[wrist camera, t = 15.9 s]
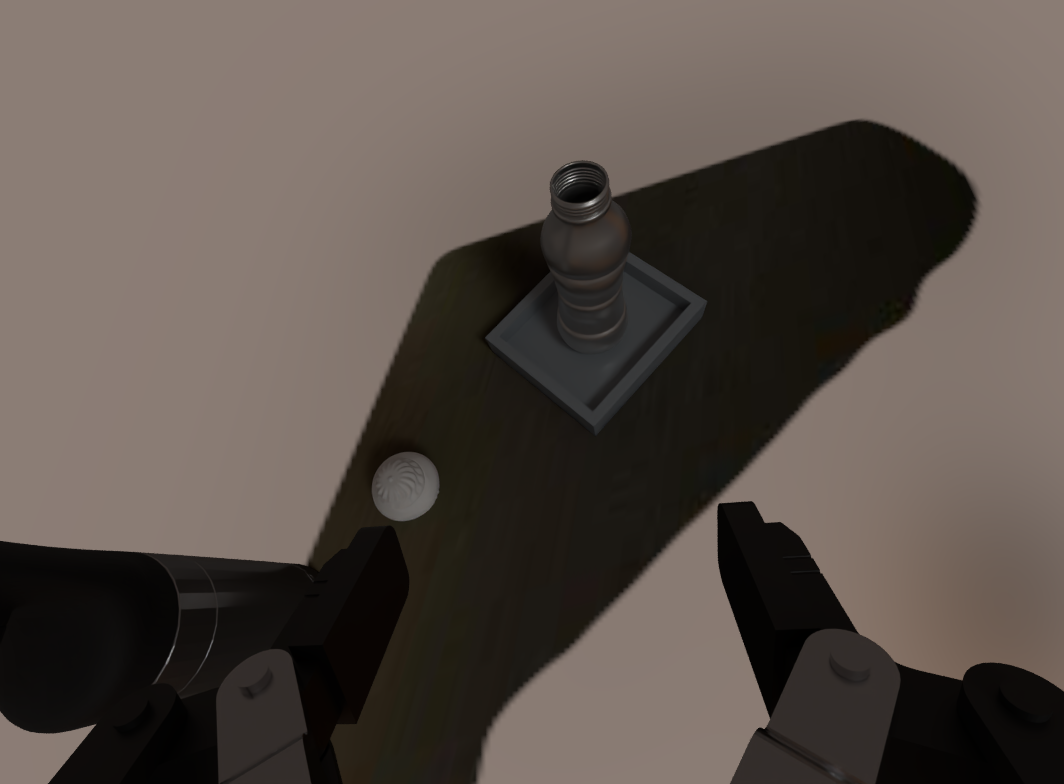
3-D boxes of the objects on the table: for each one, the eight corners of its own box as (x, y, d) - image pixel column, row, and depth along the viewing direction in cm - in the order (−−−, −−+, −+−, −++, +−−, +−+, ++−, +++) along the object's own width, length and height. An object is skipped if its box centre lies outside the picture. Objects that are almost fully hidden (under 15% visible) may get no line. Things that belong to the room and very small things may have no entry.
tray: (595, 436, 47) (593, 426, 44) (492, 351, 52) (484, 337, 49) (702, 317, 50) (706, 301, 47) (593, 246, 55) (592, 228, 52)
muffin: (464, 486, 47) (439, 470, 41) (421, 539, 46) (389, 531, 40) (418, 448, 50) (388, 427, 43) (376, 498, 48) (339, 485, 42)
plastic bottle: (557, 308, 51) (522, 152, 33) (624, 299, 51) (626, 134, 32) (562, 365, 49) (527, 232, 31) (632, 357, 48) (640, 215, 30)
